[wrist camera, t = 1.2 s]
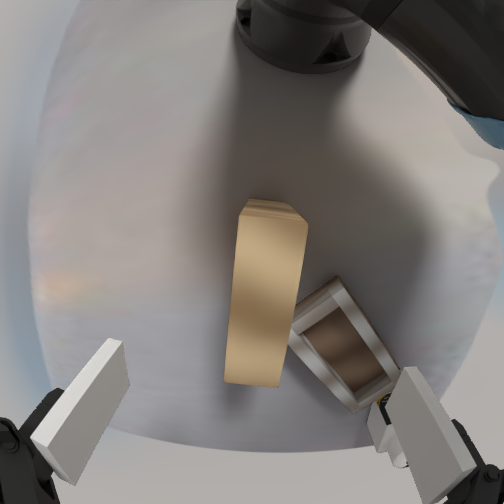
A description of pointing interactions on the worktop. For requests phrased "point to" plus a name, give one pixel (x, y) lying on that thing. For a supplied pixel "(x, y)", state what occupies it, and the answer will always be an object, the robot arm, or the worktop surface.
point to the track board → (342, 346)
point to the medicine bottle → (385, 432)
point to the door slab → (263, 291)
